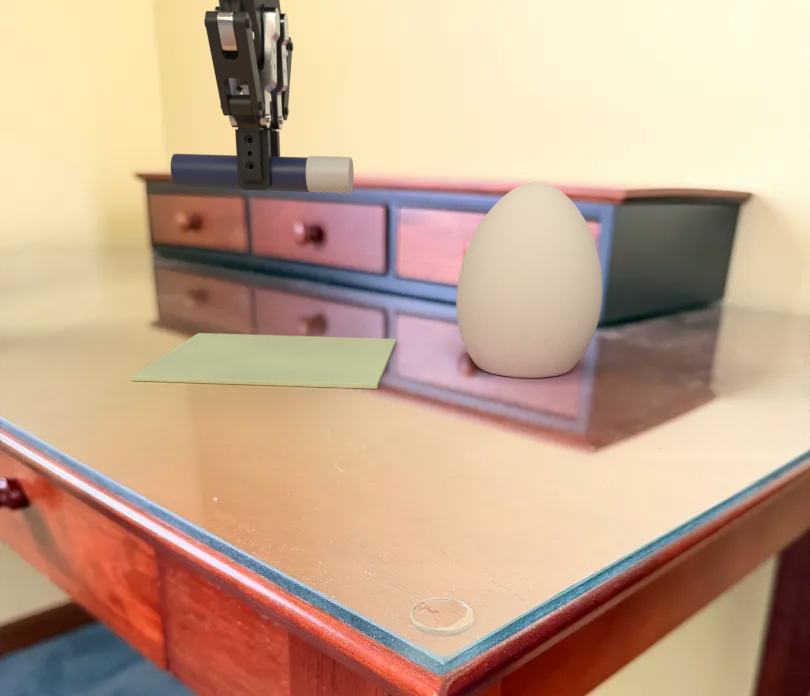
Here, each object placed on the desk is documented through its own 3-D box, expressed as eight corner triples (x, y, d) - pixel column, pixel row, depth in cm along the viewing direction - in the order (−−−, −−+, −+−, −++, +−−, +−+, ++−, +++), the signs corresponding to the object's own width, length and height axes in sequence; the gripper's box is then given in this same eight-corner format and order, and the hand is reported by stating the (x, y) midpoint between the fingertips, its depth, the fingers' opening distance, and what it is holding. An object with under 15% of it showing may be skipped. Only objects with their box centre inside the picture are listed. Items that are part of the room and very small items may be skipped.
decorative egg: (583, 354, 78) (602, 181, 71) (603, 387, 66) (627, 186, 60) (454, 351, 78) (461, 179, 72) (453, 382, 67) (461, 183, 61)
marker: (173, 192, 58) (167, 157, 56) (183, 182, 59) (177, 148, 58) (349, 197, 57) (348, 162, 55) (354, 187, 58) (353, 153, 57)
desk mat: (131, 380, 66) (130, 376, 66) (198, 336, 82) (198, 332, 82) (377, 389, 65) (377, 384, 65) (396, 342, 81) (396, 338, 81)
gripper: (219, -88, 57) (235, 184, 64) (144, -156, 44) (174, 191, 52) (326, -87, 56) (329, 187, 64) (280, -156, 44) (292, 194, 51)
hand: (260, 187), depth 58 cm, fingers closed on marker, 2 cm apart
